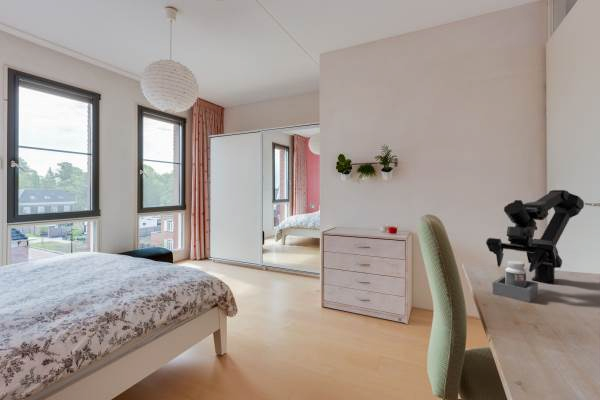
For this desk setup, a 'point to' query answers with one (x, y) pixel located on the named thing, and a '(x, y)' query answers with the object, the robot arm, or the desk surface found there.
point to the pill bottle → (515, 274)
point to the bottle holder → (515, 290)
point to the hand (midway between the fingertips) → (513, 268)
